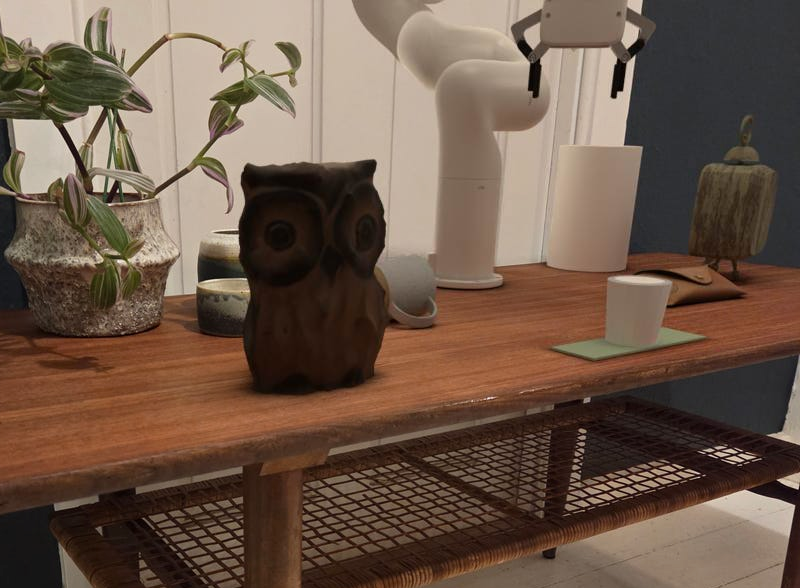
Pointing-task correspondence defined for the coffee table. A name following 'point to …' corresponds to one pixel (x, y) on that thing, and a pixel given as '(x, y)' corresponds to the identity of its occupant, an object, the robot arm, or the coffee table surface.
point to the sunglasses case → (695, 284)
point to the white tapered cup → (635, 309)
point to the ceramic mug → (408, 289)
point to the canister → (593, 207)
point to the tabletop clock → (733, 207)
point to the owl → (312, 275)
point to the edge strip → (605, 349)
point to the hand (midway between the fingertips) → (574, 98)
